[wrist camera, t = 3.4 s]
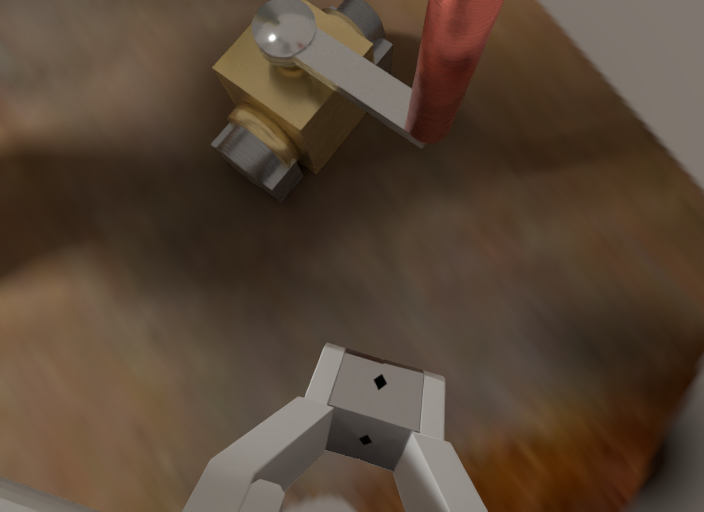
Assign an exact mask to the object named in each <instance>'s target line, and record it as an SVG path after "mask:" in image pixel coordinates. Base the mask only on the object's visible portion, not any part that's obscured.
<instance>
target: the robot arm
mask: <svg viewBox="0 0 704 512" xmlns="http://www.w3.org/2000/svg"><path fill="white" fill-rule="evenodd" d="M444 426H445V378H444V376H440V375H437V374H433V373H430V372H427V371H423V370H421V369H417V368H414V367H410V366H406V365H403V364H399V363H395V362H392V361H388V360H382V359H379V358H376V357H373V356H369V355H366V354H363V353H360V352H357V351H354V350H350V349H347V348H344V347H340V346H337V345H334V344H330V343H326V345H325V346H324V348H323V351H322V353H321V356H320V358H319V361H318V364H317V366H316V369H315V371H314V374H313V377H312V379H311V382H310V384H309V387H308V390H307V392H306V395H305V397H304V398H303V397H299V396H298V397H297V398H295V399H294V400H293V401H291V402H290V403H288V404H287V405H286V406H284V407H283V408H282V409H280V410H279V411H277V412H276V413H275V414H273V415H272V416H270V417H269V418H268V419H266V420H265V421H263V422H262V423H261V424H259V425H258V426H256V427H255V428H254V429H252V430H251V431H250V432H248V433H247V434H245V435H244V436H243V437H241V438H240V439H238V440H237V441H236V442H234V443H233V444H231V445H230V446H229V447H227V448H226V449H225V450H223V451H222V452H220V453H219V454H218V455H216V456H215V457H213V458H212V459H211V460H210V461H209V463H208V465H207V467H206V469H205V471H204V472H203V474H202V476H201V478H200V480H199V482H198V483H197V485H196V487H195V489H194V491H193V493H192V494H191V496H190V498H189V500H188V502H187V504H186V505H185V507H184V509H183V511H182V512H283V504H284V495H285V494H284V492H285V491H286V490H287V489H288V488H289V487H290V486H291V485H292V484H293V483H294V482H295V481H296V480H297V479H298V478H299V477H300V476H301V475H302V474H303V473H304V472H305V471H306V470H307V469H308V468H309V467H310V466H311V465H312V464H313V463H314V462H315V461H316V460H317V459H318V458H319V457H320V456H321V455H322V454H323V453H324V451H325V450H327V451H331V452H334V453H338V454H341V455H345V456H348V457H352V458H355V459H358V460H361V461H364V462H367V463H370V464H373V465H376V466H379V467H382V468H384V469H387V470H390V471H393V476H394V479H395V482H396V485H397V488H398V491H399V494H400V497H401V500H402V503H403V506H404V509H405V512H488V511H487V509H486V507H485V506H484V504H483V502H482V500H481V498H480V496H479V495H478V493H477V491H476V489H475V487H474V485H473V483H472V482H471V480H470V478H469V476H468V474H467V472H466V470H465V469H464V467H463V465H462V463H461V461H460V459H459V457H458V456H457V454H456V452H455V450H454V448H453V446H452V445H451V443H450V442H447V441H444ZM0 512H101V511H98V510H95V509H92V508H90V507H87V506H84V505H81V504H78V503H76V502H73V501H70V500H67V499H64V498H61V497H59V496H56V495H53V494H50V493H47V492H45V491H42V490H39V489H36V488H33V487H31V486H28V485H25V484H22V483H19V482H17V481H14V480H11V479H8V478H5V477H2V476H0Z"/></svg>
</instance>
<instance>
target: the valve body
mask: <svg viewBox="0 0 704 512" xmlns="http://www.w3.org/2000/svg"><path fill="white" fill-rule="evenodd" d="M301 1H302V2H304V3H305V4H307V5H308V6H309V7H310V9H311V10H312V12H313V14H314V16H315V21H316V27H317V28H319V29H320V30H322V31H324V32H325V33H327V34H328V35H330V36H331V37H333V38H334V39H336V40H337V41H339V42H340V43H342V44H344V45H345V46H347V47H348V48H350V49H351V50H353V51H354V52H356V53H357V54H359V55H361V56H362V57H364V58H365V59H367V60H368V61H370V62H371V63H373V64H374V65H376V66H377V67H379V68H381V69H382V70H384V71H385V72H387V73H389V72H390V71H391V61H392V49H393V44H391V43H390V42H388V41H387V40H385V39H384V37H385V33H384V28H383V25H382V23H381V20H380V18H379V17H378V15H377V14H376V12H375V11H374V10H373V9H372V7H370V6H369V5H368V4H367V3H366V2H365V1H363V0H344V1H343V2H342V4H341V5H340V6H339V7H338V8H337V9H336V8H335V7H333V6H331V7H330V8H326V9H322V10H320V9H318V8H317V7H315V6H313V5H312V4H310V3H309V2H307V1H306V0H301ZM212 69H213V70H214V72H215V73H216V75H217V77H218V78H219V80H220V82H221V83H222V85H223V86H224V88H225V90H226V91H227V93H228V95H229V96H230V98H231V100H232V101H233V103H234V104H235V106H236V108H235V109H234V110H233V111H232V112H231V114H230V115H229V116H228V117H227V120H228V122H229V124H228V125H227V126H226V127H225V128H224V130H223V131H222V132H221V133H220V134H219V135H218V137H217V138H216V139H215V140H214V141H213V142H212V143H211V145H212V146H213V148H214V149H215V150H216V151H217V152H218V153H219V154H220V156H221V157H222V158H223V159H224V160H225V161H226V162H227V163H228V164H230V165H231V166H232V167H233V168H234V169H236V170H237V171H238V172H239V173H240V174H242V175H243V176H244V177H245V178H247V179H248V180H249V181H251V182H252V183H254V184H255V185H257V186H258V187H260V188H262V189H263V190H264V191H266V192H267V193H268V194H270V195H271V196H272V197H274V198H275V199H276V200H278V201H279V202H280V203H282V202H283V201H284V200H285V199H286V197H287V196H288V195H289V194H290V193H291V191H292V190H293V189H294V188H295V186H296V185H297V184H298V183H299V182H300V180H301V179H302V178H303V174H302V172H301V170H300V168H299V165H298V163H297V161H298V162H299V163H301V164H302V165H303V166H305V167H306V168H308V169H309V170H310V171H312V172H313V173H315V174H316V175H317V174H318V172H319V171H320V170H321V169H322V167H323V166H324V165H325V164H326V163H327V161H328V160H329V159H330V158H331V156H332V155H333V154H334V153H335V152H336V150H337V149H338V148H339V147H340V145H341V144H342V143H343V142H344V141H345V139H346V138H347V137H348V136H349V134H350V133H351V132H352V131H353V130H354V128H355V127H356V126H357V125H358V123H359V122H360V121H361V120H362V119H363V117H364V116H365V115H366V114H367V112H366V111H364V110H363V109H361V108H360V107H358V106H357V105H355V104H354V103H352V102H351V101H349V100H348V99H346V98H345V97H343V96H342V95H341V94H339V93H338V92H336V91H335V90H333V89H332V88H330V87H329V86H327V85H326V84H324V83H323V82H321V81H320V80H318V79H317V78H315V77H314V76H312V75H311V74H309V73H308V72H306V71H305V70H303V69H302V68H300V67H299V66H298V65H295V66H290V67H281V66H277V65H274V64H271V63H270V62H268V61H267V60H265V59H264V58H263V56H262V55H261V53H260V51H259V49H258V47H257V44H256V42H255V39H254V37H253V34H252V24H251V25H250V26H249V27H248V28H247V29H246V30H245V31H244V33H243V34H242V35H241V36H240V37H239V38H238V39H237V40H236V41H235V43H234V44H233V45H232V46H231V47H230V48H229V49H228V50H227V51H226V53H225V54H224V55H223V56H222V57H221V58H220V59H219V60H218V61H217V63H216V64H215V65H214V66H213V67H212Z"/></svg>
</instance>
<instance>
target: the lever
mask: <svg viewBox="0 0 704 512" xmlns="http://www.w3.org/2000/svg"><path fill="white" fill-rule="evenodd" d="M503 2H504V0H428V6H427V11H426V16H425V22H424V27H423V33H422V38H421V43H420V49H419V54H418V60H417V65H416V71H415V76H414V81H413V87H412V89H411V88H410V87H408V86H407V85H405V84H404V83H402V82H401V81H399V80H398V79H396V78H394V77H393V76H391V75H390V74H388V73H387V72H385V71H384V70H382V69H381V68H379V67H377V66H376V65H374V64H373V63H371V62H370V61H368V60H367V59H365V58H364V57H362V56H361V55H359V54H357V53H356V52H354V51H353V50H351V49H350V48H348V47H347V46H345V45H344V44H342V43H340V42H339V41H337V40H336V39H334V38H333V37H331V36H330V35H328V34H327V33H325V32H324V31H322V30H320V29H319V28H317V27H316V21H315V16H314V14H313V12H312V10H311V9H310V7H309V6H308V5H307V4H305V3H304V2H302V1H301V0H271V1H269V2H267V3H265V4H264V5H263V6H261V7H260V8H259V10H258V11H257V12H256V14H255V16H254V18H253V21H252V34H253V37H254V39H255V42H256V44H257V47H258V49H259V51H260V53H261V55H262V56H263V58H264V59H265V60H267V61H268V62H270V63H271V64H274V65H277V66H281V67H290V66H295V65H298V66H299V67H300V68H302V69H303V70H305V71H306V72H308V73H309V74H311V75H312V76H314V77H315V78H317V79H318V80H320V81H321V82H323V83H324V84H326V85H327V86H329V87H330V88H332V89H333V90H335V91H336V92H338V93H339V94H341V95H342V96H343V97H345V98H346V99H348V100H349V101H351V102H352V103H354V104H355V105H357V106H358V107H360V108H361V109H363V110H364V111H366V112H367V113H369V114H370V115H372V116H373V117H375V118H376V119H378V120H379V121H381V122H382V123H384V124H385V125H386V126H388V127H389V128H391V129H392V130H394V131H395V132H397V133H398V134H400V135H401V136H403V137H404V138H406V139H407V140H409V141H410V142H412V143H413V144H415V145H416V146H418V147H419V148H421V149H422V148H423V147H424V145H425V144H426V143H435V142H438V141H440V140H442V139H443V138H445V137H446V135H447V134H448V133H449V131H450V128H451V126H452V124H453V121H454V119H455V117H456V114H457V112H458V109H459V107H460V105H461V102H462V100H463V97H464V95H465V93H466V90H467V88H468V85H469V83H470V81H471V78H472V76H473V74H474V71H475V69H476V66H477V64H478V62H479V59H480V57H481V54H482V52H483V50H484V47H485V45H486V42H487V40H488V38H489V35H490V33H491V31H492V28H493V26H494V23H495V21H496V19H497V16H498V14H499V11H500V9H501V7H502V4H503Z"/></svg>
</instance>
